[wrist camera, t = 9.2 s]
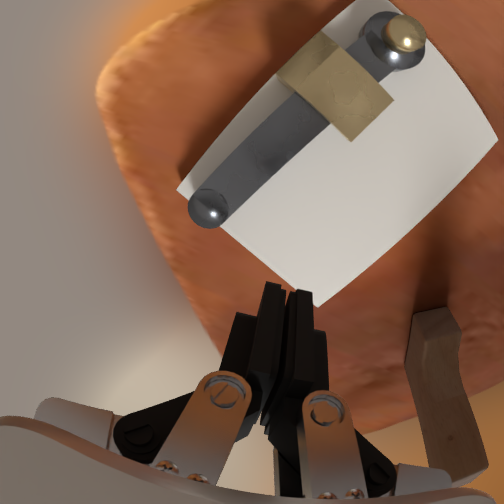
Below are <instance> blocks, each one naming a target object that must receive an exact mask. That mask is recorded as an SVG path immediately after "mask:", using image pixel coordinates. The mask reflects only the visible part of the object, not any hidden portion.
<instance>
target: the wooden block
mask: <svg viewBox="0 0 504 504" xmlns="http://www.w3.org/2000/svg"><path fill="white" fill-rule="evenodd" d="M461 335H462V332H461V329H460V327H459V326H458V324H457V322H456V320H455V319H454V317H453V315H452V314H451V312H450V310H449V309H448V307H442V308H437V309H433V310H428V311H424V312H419V313H415V314H414V315H413V320H412V327H411V333H410V340H409V345H408V351H407V356H406V361H405V366H404V368H405V371H406V374H407V378H408V381H409V385H410V388H411V392H412V395H413V399H414V403H415V406H416V410H417V414H418V418H419V422H420V426H421V430H422V435H423V439H424V444H425V449H426V454H427V459H428V464H429V468H436V469H442V470H445V471H446V472H447V473H448V474H449V475H450V477H451V481H452V488H458V487H460V486H463V485H465V484H468V483H470V482H472V481H473V480H474V479H475V478H476V477H478V476H479V475H480V474H481V473H482V472H483V471H485V470H486V469H487V468H488V465H489V464H488V460H487V456H486V452H485V449H484V445H483V442H482V439H481V436H480V432H479V429H478V426H477V423H476V420H475V418H474V414H473V412H472V409H471V406H470V403H469V401H468V398H467V395H466V393H465V390H464V388H463V384H462V380H461V376H460V373H459V361H458V351H459V346H460V341H461Z"/></svg>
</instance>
